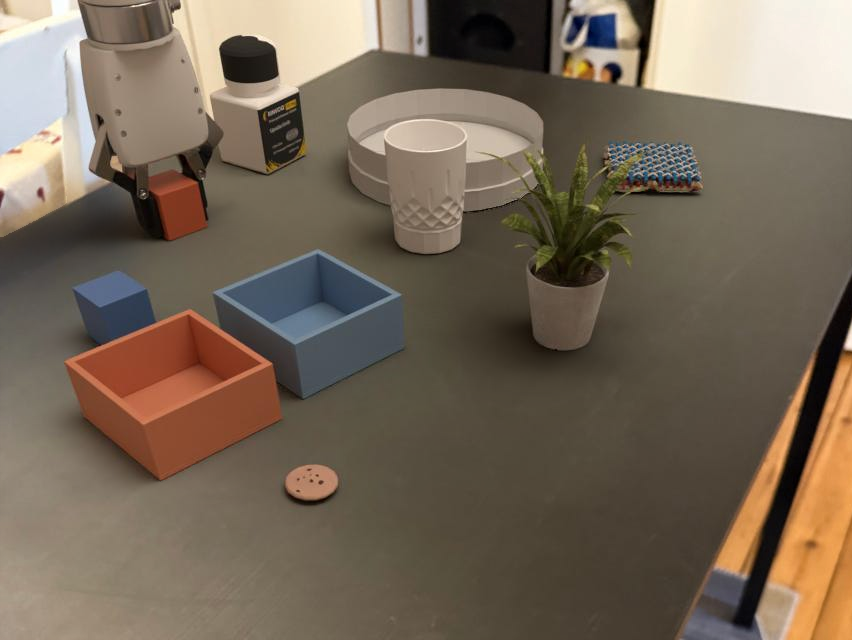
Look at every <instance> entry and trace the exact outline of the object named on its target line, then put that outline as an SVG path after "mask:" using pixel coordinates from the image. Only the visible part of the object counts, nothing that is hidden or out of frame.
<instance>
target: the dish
mask: <svg viewBox="0 0 852 640" xmlns="http://www.w3.org/2000/svg"><path fill="white" fill-rule="evenodd" d="M418 119H433V120H442V121H447V122H450V123H453V124H456V125H458V126H460V127H462V128H463V129H464V130H465V131H466V133H467V154H466V180H465V195H464V211H473V210H482V209H486V208H492V207H496V206H501V205H504V204H506V203H509V202H511V201H514V200H517V199H515V198H522V197H523V196H524V195H525V194H527V193H529V191H528V190H526V191H520V192H516V193H513V192H514V191H516V190H520V189H527V188H526V186H525V185H524V183H523V182H522V180H521V179H520V177H519V176H518V175H517V173H516V172H515V171H514V170H513V169H512V168H511V167H510V166H509V165H507V164H506V163H504V162H503V161H501V160H499V159H497V158H495V157H492V156H489V155H486V154H482V153H477V152H484V153H489V154H492V155H495V156H498V157H501V158H503V159H504V160H506V161H508V162H509V163H510V164H511V165H512V166H513V167H514V168H515V169H516V170H518V172H519V173H520V174H521V176H522V177H523V179H524V180H525V182H526V183H527V185H528V186H529V188H530V190H533V189H534V188H535V187H536V186H537V184H538V182H537V180H536V178H535V176H534V173H533V170H532V167H531V166H530V164H529V163H528V162H527V160H526V158H525V156H524V154H526V152H525V151H524V149H525V150H526V151H527V152H529V153H530V154H531V155H532V156H534V158H535V159H536V160H537V162H538V164H539V165H540V167H541V169H542V170H543V169H544V163H543V161H542V159H541V157H540V155H539V154H538V152H537V151H536V150H535V149H534V148H532V147H531V146H533V147H535V148H536V149H538V150H539V151H540V152H541V153H542V154H543V155H544V147H543V140H544V120H543V119H542V118H541V117H540V115H539V114H538V112H537V111H535V110H534V109H533V108H531V107H530V106H528V105H527V104H526V103H524V102H521V101H518V100H516V99H513V98H510V97H508V96H504V95H500V94H496V93H492V92H488V91H481V90H474V89H466V88H426V89H425V88H424V89H414V90H407V91H402V92H401V91H400V92H396V93H393V94H392V93H391V94H388V95H384V96H382V97H379V98H375V99H373V100H371V101H369V102H367V103H364V104H363V105H360V106H359V107H358V108H357V109H356V110H354V112H352V113H351V114H350V116H349V118H348V121H347V123H346V129H347V140H348V149H347V160H348V172H349V176H350V178H351V182H352V184H353V185H354V187H356V189H357V190H359V192H360V193H361V194H362V195H364V196H366V197H368V198H370V199H372V200H374V201H376V202H378V203H380V204H383V205H387V206H390V207H391V202H390V193H389V186H388V176H387V166H386V156H385V146H384V137H383V136H384V132H385V131H386V130H387V129H388V128H389V127H391V126H393V125H395V124H397V123H400V122H404V121H409V120H418ZM530 145H531V146H530ZM474 151H475V152H474ZM522 152H523V153H524V154H523V153H522ZM526 155H527V154H526ZM527 156H528V155H527ZM543 171H544V170H543ZM537 187H538V186H537ZM511 193H513V194H511ZM511 197H514V199H507V198H511ZM505 199H507V200H505ZM522 199H523V198H522Z"/></svg>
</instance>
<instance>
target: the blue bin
mask: <svg viewBox="0 0 852 640" xmlns="http://www.w3.org/2000/svg"><path fill="white" fill-rule="evenodd" d="M212 296H213V301H214V305H215V306H214V307H215V310H216V314H217V319H218V323H219V328H220V329H221V330H223V331H224V332H226V333H227V334H229V335H230V336H232V337H233V338H235V339H236V340H238V341H239V342H241V343H242V344H244V345H245V346H247V347H248V348H250V349H251V350H253V351H254V352H256V353H257V354H259V355H260V356H262V357H263V358H265V359H266V360H268V361H269V362H271V363H272V364H273V368H274V374H275V380H276V383H278V384H280V385H281V386H283V387H284V388H286V389H287V390H289V391H290V392H292V393H293V394H294V395H296V396H298V397H299V398H300V399H302V400H304V399H306V398H308V397H310V396H312V395H315V394H317V393H319V392H320V391H322V390H324V389H326V388H328V387H330V386H331V385H332V386H333V385H335V384H336V383H338V382H340V381H342V380H344V379H346V378H348V377H350V376H352V375H354V374H356V373H358V372H360V371H362V370H364V369H366V368H368V367H370V366H372V365H374V364H376V363H378V362H381V361H382V360H383V359H386V358H388V357H390V356H393V354H396V353H398V352H400V351H402V350H404V349H405V347H406V346H405V345H406V344H405V329H404V328H405V327H404V326H405V325H404V309H403V295H402V294H401V293H399V292H398V291H397V290H395V289H392V288H390V286H387V285H385V284H383V283H382V282H380V281H378V280H376V279H375V278H372V277H371V276H368V275H367V274H365V273H364V272H362V271H359V270H358V269H356V268H354V267H352V266H350V265H348V264H347V263H345V262H343V261H342V260H339V259H338V258H337V257H336V258H335V256H332V255H331V254H329V253H327V252H325V251H323V250H321V249H319V248H317V249H313V250H312V251H310V252H308V253H304V254H303V255H300V256H296V257H295V258H293V259H290V260H288V261H286V262H282V263H280V264H278V265H275V266H273V267H271V268H269V269H266V270H264V271H260V272H259V273H256V274H254V275H251V276H249V277H246V278H244V279H241V280H239V281H237V282H234V283H231V284H229V285H227V286H224V287H222V288H219V289H217V290H215V291H213V292H212Z"/></svg>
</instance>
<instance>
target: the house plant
mask: <svg viewBox="0 0 852 640" xmlns="http://www.w3.org/2000/svg"><path fill="white" fill-rule="evenodd" d="M591 137H592V135H590V136H589V137H588V138H587V139H586V141H585V142H584V143H583V144H582V146H581V148H580V150H579V153H578V155H577V158H576V161H575V165H574V169H573V173H572V179H571V183H570V188H569V192H568V191H561V192H557V191H556V187H555V181H554V177H553V173H552V169H551V167H550V164H549V161H548V159H547V158H546V156H545V155H544V153H543V154H542V153H541V152H540V151H539V150H538V149H536V148H535V147H533V146H531V145H530V146H531V147H532V148H534V149H535V150H536V151H537V152H538V154H539V155H540V157H541V159H542V161H543V167H544V169H545V171H546V173H545V172H544V170H542V169H541V167H540V165H539V164H538V162H537V160H536V159H535V158H534V156H532V155H531V154H530V153H529V152H527V151H526V150H525V149H524V151H525V152H526V154H527V155H528V156H527V155H526V154H524V153H523V152H522V153H523V154H524V156H525V158H526V160H527V162H528V163H529V164H530V166H531V167H532V170H533V173H534V176H535V178H536V180H537V182H538V184H539V185H538V186H539V187H540V190H541V191H542V192H541V191H540V190H536V189H535V190H530V188H529V186H528V185H527V183H526V182H525V180H524V179H523V177H522V176H521V174H520V173H519V172H518V170H516V169H515V168H514V167H513V166H512V165H511V164H510V163H509V162H508V161H506V160H504V159H503V158H501V157H498V156H495V155H492V154H489V153H484V152H477V153H482V154H486V155H489V156H492V157H495V158H497V159H499V160H501V161H503V162H504V163H506V164H507V165H509V166H510V167H511V168H512V169H513V170H514V171H515V172H516V173H517V175H518V176H519V177H520V179H521V180H522V182H523V183H524V185H525V186H526V188H527V189H520V190H516V191H514V192H513V193H516V192H520V191H526V190H528V191H529V193H530V196H531V198H532V199H533V201H534V203H535V205H536V206H537V208H538V209H539V212H540V213H541V215H542V217H543V218H544V221H545V223H546V225H547V227H548V230H549V231H550V235H551V237H552V241H553V245H554V247H553V245H552V243H551V241H550V239H549V236H548V233H547V231H546V229H545V226H544V225H543V223H542V221H541V218H540V216H539V215H538V212H537V211H536V209H535V208H534V207H533V205H532V204H531V203H530V202H529V201H527V200H526V199H524V198H522V199H521V198H515V199H519V200H518V201H519V202H521V203H522V204H523V205H524V206H525V207H526V209H527V210H528V211H529V213H530V214H531V216H532V217H533V219H534V221H535V223H536V225H537V226H536V225H535V224H534V223H533V222H532V221H530V220H529V218H527V217H526V216H524V215H522V214H519V213H511V214H509V215H507V216H505V217H504V218H503V219H502V220H501V221H500V223H499V225H500V224H503V226H507V227H511V228H508V229H507V230H506V231H505V232H509V231H510V232H518V233H523V234H528V235H531V237H533V238H534V240H535V241H536V242H537V243H538V246H539V248H537V247H536V246H533V245H530V244H527V243H519V244H516V245H515V246H514V247H512V248H513V249H515V248H520V247H525V246H526V247H527V246H528V247H530V248H532V250H534V251H535V254H534V255H533V256H532V257H530V258H529V259H528V261H527V263H526V264H525V265H526V266H525V270H526V271H525V273H526V280H527V289H528V298H529V299H528V300H529V309H530V316H531V318H530V319H531V326H532V327H531V328H532V335H533V338H534V340H535V341H536V343H538V344H539V345H541V346H543V347H545V348H548V349H551V350H555V349H557V351H572V350H577V349H580V348H582V347H584V346H586V345H587V344H588V343H589V342H590V341H591V337H592V334H593V331H594V327H595V324H596V321H597V317H598V314H599V311H600V307H601V303H602V300H603V296H604V293H605V290H606V287H607V283H608V279H609V276H610V275H611V271H610V269H611V264H612V261H613V260H612V258H611V256H610V253H609V251H608V249H610V250H611V251H612V252H614V253H615V254H616V255H618V256H619V257H620V258H622V259H623V260H624V261H625V262H626V263H627V265H628V266H629V270H630V271H632V258H633V255H632V253H631V250H630V249H629V247H628V246H626V245H625V244H623V243H620V242H617V241H610V240H611V239H612V238H613V237H614V236H616V235H618V234H627V235H629V236H630V237H631V238H632V239H633V240H634V241H636V239H635V237H634V236H633V235H632V233H631V231H630V229H629V228H628V227H626V226H625V225H622V224H621V223H622V222H623V221H626V219H624V218H621V216H636V215H637V213H627V212H612V213H605V212H606V211H607V210H608V209H609V208H610V207H611V206H612V205H614V204H615V203H616V202H618V201H619V200H620V199H622V198H624V197H625V196H627V195H628V194H631V192H634V191H638V190H642V189H646V188H649V189H650V187H637V188H634V189H632V190H630V191H628V192H624V194H622V195H621V196H620V197H618V198H617V199H616V200H615V201H613V202H612V203H611V204H610V205H609V206H608V207H607V208H605V209H604V207H605V206H606V205H607V203H608V201H609V200H610V198H611V197H612V196H613V194H614V193H616V192H617V191H616V189H617V188H618V187H619V186H620V185H621V184H622V183H623V181H624V180H625V178H626V176H627V174H628V172H629V170H630V168H631V167H632V166H633V165H634V164H635V163H636V162H637V161H638V160H639V159H640V158H641V157H642V156H643V155H644V154H645V153H646V152H648V151H645V152H642V153H639V154H636V155H634V156H632V157H630V158H629V159H627V160H626V161H625V162H624V163H622V164H621V165H620V166H619V167H618V168H617V169H616V170H615V171H614V172H613V173H612V175H611V176H610V177H609V178H608V177H607V179H606V180H605V181H604V183H602V185H601V186H600V187H599V188H598V190H597V192H596V193H595V194H594V195H593V196H592V200H591V202H590V204H586V205H584V201H585V195H586V190H587V188H588V186H589V185H590V183H591V182H593V180H594V179H595V178H597V177H598V176H599V175H600V174H602V173H603V172H604V171H606V170H607V169H609V168H608V167H609V166H610V165H611V164H613V163H614V162H615V161H614V162H613V163H611V164H609V165H607V166H606V167H602V168H601V169H599V170H598V171H597V172H596V173H595V174H594V175H593V176H591V178H590V179H589V180H588V178H589V166H588V157H587V156H588V155H587V153H586V148H587V146H588V143H589V140H590V138H591ZM474 152H475V151H474ZM513 193H511V194H513ZM535 196H536V197H537V199H538V200H539V201H540V203H541V204H542V206H543V208H544V210H545V212H546V214H547V216H548V219H549V221H548V219H547V217H546V215H545V213H544V210H543V209H542V207H541V205H540V204H539V202H538V200H537V199H536V197H535ZM507 199H514V197H511V198H507ZM507 199H505V200H507ZM586 208H588V210H586ZM603 209H604V210H603ZM585 210H586V211H585ZM602 210H603V211H602ZM606 219H608V220H606ZM604 220H605V222H604V223H603V224H601V225H600V226H599V227H597V228H596V229H595V230H593V229H594V228H595V226H596V225H597V224H598V223H600V222H602V221H604ZM627 221H628V222H629V220H627ZM549 222H550V223H549ZM550 225H551V226H550ZM592 230H593V231H592ZM505 232H504V233H505ZM604 247H606V248H608V249H602V248H604ZM601 249H602V250H601Z"/></svg>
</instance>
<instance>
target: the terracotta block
mask: <svg viewBox="0 0 852 640" xmlns="http://www.w3.org/2000/svg"><path fill="white" fill-rule="evenodd" d="M181 173H182V172H179V171H177V170H175V169H174V168H172V169H169V170H166V171H163V172H159V173H157V174H156V173H155V174H153V175H150V176H148V179H149V193H150V195H151V196H153V197H154V198H155V199H156V202H157V206H158V210H159V214H160V218H161V222H162V226H163V230H164V236H163V237H162V238H164V239H166V240H167V241H169V242H172V241H173V240H176V239H179V238H182V237H185V236H187V235H189V234H193V233H195V232H198V231H200V230H204V229H206V228H208V225H207V221H206V219H205V215H204V210H203V205H202V200H201V196H200V191H199V186H198V182H196V181H194V180H192V179H190V178H188V177H187V176H185V175H183V174H181Z"/></svg>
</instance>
